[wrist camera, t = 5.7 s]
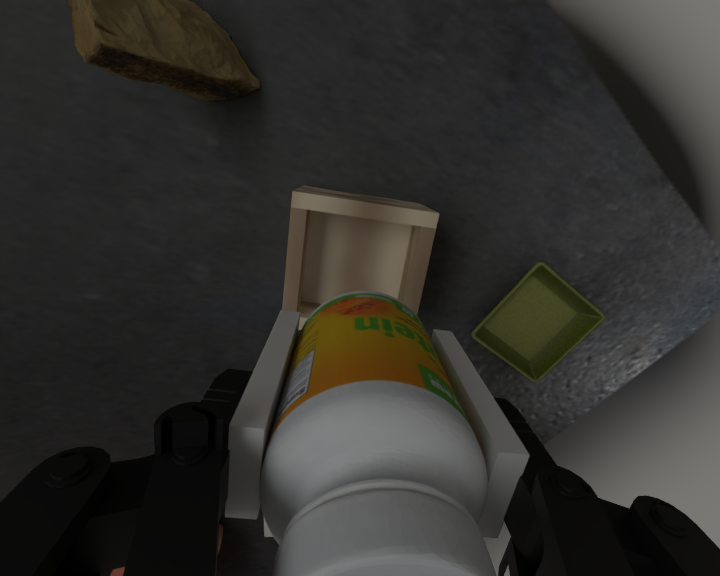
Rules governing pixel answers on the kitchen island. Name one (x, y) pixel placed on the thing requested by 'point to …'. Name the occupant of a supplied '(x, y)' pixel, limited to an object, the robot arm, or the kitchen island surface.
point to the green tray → (537, 323)
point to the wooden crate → (355, 248)
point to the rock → (162, 46)
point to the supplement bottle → (372, 452)
